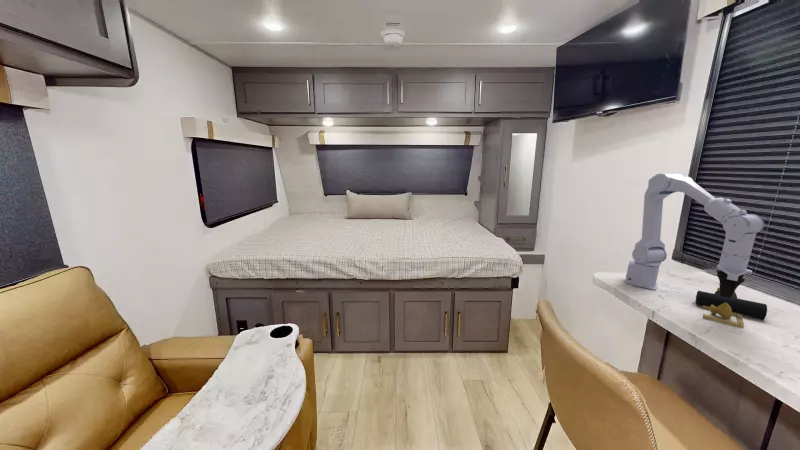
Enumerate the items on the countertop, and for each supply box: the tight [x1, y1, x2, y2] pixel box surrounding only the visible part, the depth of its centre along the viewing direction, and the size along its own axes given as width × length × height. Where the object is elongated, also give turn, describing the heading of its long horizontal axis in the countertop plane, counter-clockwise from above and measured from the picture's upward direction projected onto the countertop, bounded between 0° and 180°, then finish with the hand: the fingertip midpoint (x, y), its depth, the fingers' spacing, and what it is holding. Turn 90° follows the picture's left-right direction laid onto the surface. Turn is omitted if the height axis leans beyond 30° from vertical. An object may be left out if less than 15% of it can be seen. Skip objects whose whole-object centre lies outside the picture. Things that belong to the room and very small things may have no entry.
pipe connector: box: [694, 287, 768, 321], centre depth 99 cm, size 12×5×15 cm
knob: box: [709, 303, 732, 320], centre depth 93 cm, size 5×5×5 cm
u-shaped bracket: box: [702, 305, 745, 329], centre depth 93 cm, size 8×10×1 cm
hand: (724, 295), depth 92 cm, fingers closed
